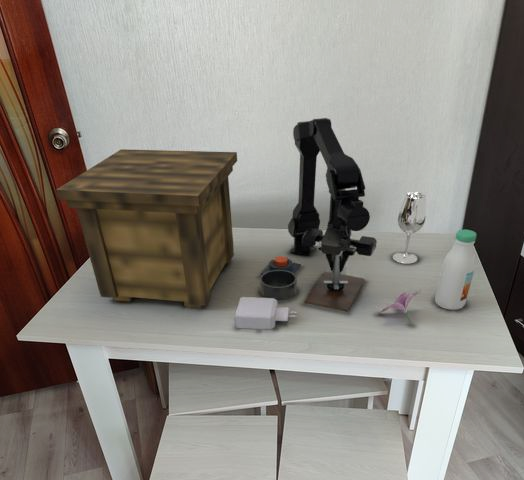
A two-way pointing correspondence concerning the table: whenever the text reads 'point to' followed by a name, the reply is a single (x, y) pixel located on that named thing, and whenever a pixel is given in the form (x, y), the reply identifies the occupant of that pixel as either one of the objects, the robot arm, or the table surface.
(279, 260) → the button
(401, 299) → the lily
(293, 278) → the dark fan housing
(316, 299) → the cutting board
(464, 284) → the milk bottle
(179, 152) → the crate
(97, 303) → the table surface
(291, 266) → the button block
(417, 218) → the wineglass
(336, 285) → the blade
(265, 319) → the charger
